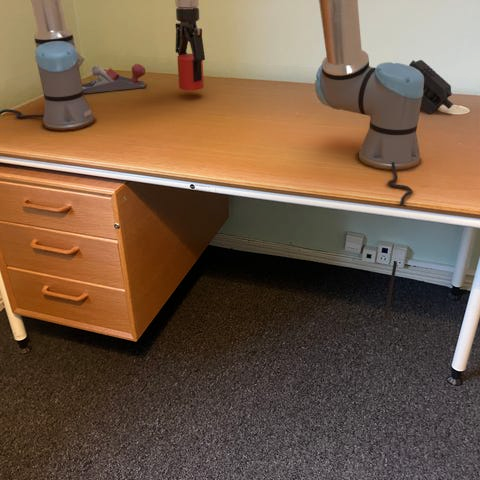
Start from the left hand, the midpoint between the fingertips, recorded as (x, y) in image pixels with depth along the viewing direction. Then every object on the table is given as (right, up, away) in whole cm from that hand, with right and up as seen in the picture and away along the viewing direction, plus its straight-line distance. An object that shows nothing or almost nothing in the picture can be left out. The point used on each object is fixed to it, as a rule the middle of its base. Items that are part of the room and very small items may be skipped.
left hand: (190, 77), depth 185 cm
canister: (0, -3, +2) cm, 3 cm away
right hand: (+66, +12, -35) cm, 76 cm away
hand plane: (-33, 0, +13) cm, 36 cm away
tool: (+75, -14, -12) cm, 77 cm away
